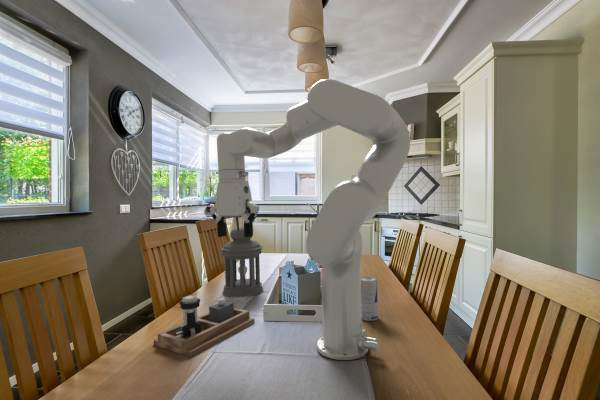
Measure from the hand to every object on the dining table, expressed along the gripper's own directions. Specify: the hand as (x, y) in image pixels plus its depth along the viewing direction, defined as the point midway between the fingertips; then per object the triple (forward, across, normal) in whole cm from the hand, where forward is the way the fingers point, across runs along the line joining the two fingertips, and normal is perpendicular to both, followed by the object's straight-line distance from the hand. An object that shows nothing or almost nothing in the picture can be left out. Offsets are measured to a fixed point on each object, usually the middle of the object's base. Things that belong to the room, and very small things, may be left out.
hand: (235, 236), depth 96 cm
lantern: (+26, +23, -30) cm, 46 cm away
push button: (+25, +8, +12) cm, 29 cm away
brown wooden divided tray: (+26, +6, +6) cm, 28 cm away
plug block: (+25, +6, 0) cm, 26 cm away
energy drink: (+28, -31, -23) cm, 47 cm away
